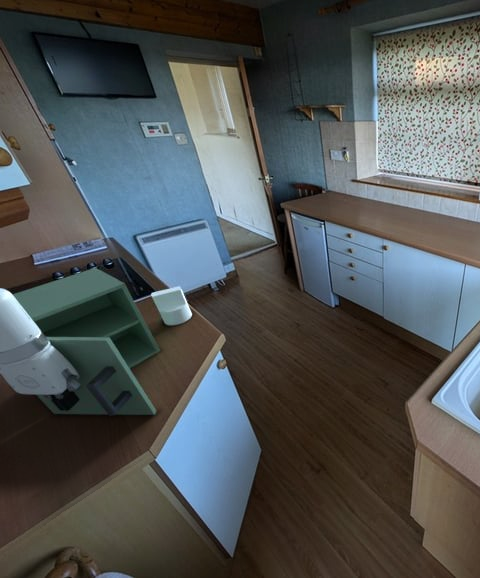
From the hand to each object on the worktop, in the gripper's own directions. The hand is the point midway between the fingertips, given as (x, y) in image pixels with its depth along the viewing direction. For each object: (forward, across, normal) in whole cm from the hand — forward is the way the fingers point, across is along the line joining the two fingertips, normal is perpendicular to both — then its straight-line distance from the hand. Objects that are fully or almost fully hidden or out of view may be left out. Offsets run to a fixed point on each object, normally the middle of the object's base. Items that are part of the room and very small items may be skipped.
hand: (70, 405), depth 68 cm
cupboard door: (+9, 0, +1) cm, 9 cm away
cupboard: (+9, -15, +20) cm, 27 cm away
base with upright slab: (+9, -5, +45) cm, 46 cm away
